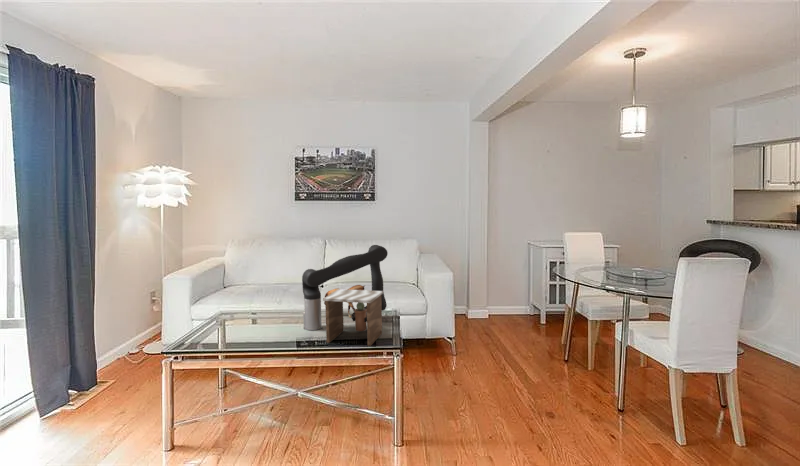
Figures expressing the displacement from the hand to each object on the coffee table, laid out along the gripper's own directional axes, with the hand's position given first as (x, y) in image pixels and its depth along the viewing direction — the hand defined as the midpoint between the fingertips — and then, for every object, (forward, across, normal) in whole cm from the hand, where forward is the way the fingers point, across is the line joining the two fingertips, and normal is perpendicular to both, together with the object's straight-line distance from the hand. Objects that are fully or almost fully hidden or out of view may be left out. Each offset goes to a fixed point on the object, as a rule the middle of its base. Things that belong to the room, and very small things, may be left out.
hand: (359, 319), depth 257 cm
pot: (-2, 0, +6) cm, 6 cm away
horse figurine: (-32, -21, +8) cm, 40 cm away
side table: (+7, 0, +8) cm, 11 cm away
